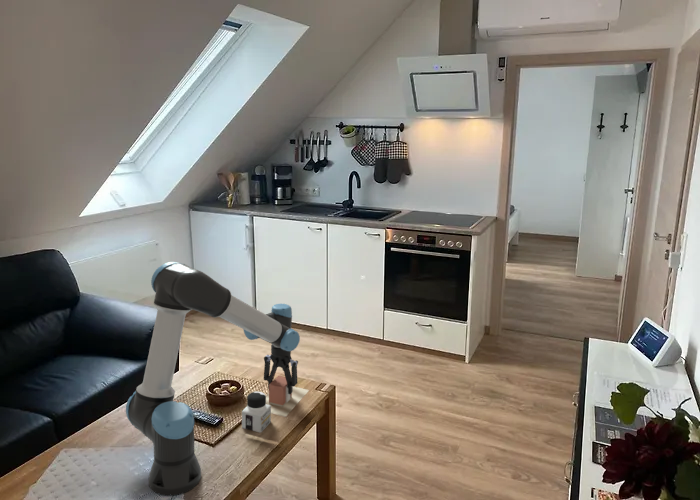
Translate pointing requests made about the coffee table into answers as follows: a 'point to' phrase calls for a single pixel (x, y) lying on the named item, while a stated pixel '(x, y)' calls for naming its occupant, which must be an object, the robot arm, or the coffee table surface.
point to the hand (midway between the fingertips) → (280, 398)
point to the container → (256, 412)
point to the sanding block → (278, 391)
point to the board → (285, 410)
